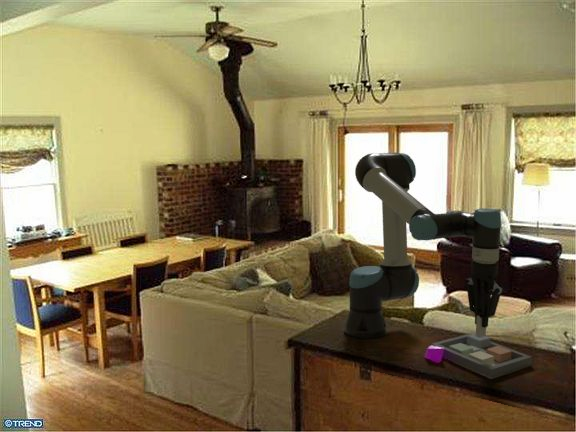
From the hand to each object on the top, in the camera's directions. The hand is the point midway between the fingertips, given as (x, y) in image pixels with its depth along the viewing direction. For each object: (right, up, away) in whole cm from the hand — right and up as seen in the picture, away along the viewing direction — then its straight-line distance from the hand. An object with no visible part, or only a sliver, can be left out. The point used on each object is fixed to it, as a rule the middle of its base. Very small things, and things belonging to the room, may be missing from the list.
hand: (480, 336), depth 166 cm
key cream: (0, -8, +1) cm, 8 cm away
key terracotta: (+7, -8, +5) cm, 12 cm away
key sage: (-4, -8, +8) cm, 11 cm away
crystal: (-13, -9, +6) cm, 17 cm away
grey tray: (+2, -9, +6) cm, 11 cm away
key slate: (+3, -5, +11) cm, 13 cm away
